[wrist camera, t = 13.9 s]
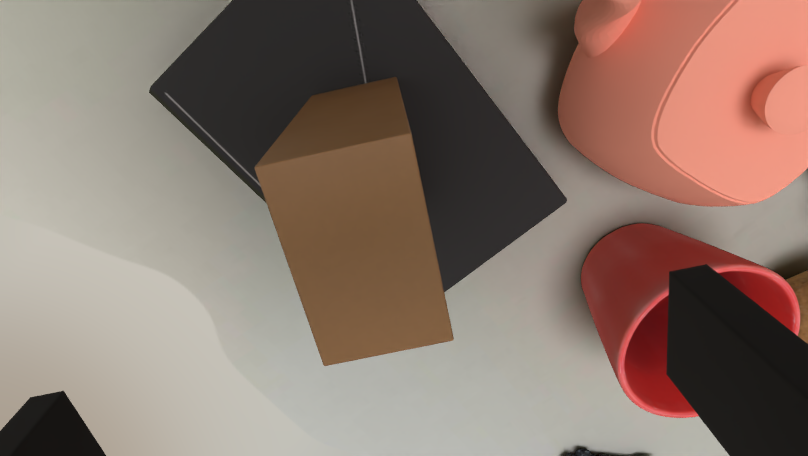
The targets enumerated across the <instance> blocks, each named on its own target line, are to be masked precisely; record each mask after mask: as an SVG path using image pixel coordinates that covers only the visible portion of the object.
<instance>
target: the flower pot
mask: <svg viewBox="0 0 808 456" xmlns="http://www.w3.org/2000/svg"><path fill="white" fill-rule="evenodd" d="M705 264H707V265H708V266H710V267H711V268H712V269H714V270H715V271H716V272H717V273H719V274H720V275H721V276H722V277H724V278H725V279H726V280H727V281H729V282H730V283H731V284H733V285H734V286H735V287H736V288H738V289H739V290H740V291H741V292H743V293H744V294H745V295H746V296H748V297H749V298H750V299H752V300H753V301H754V302H755V303H757V304H758V305H759V306H760V307H762V308H763V309H764V310H765V311H767V312H768V313H769V314H770V315H772V316H773V317H774V318H776V319H777V320H778V321H779V322H781V323H782V324H783V325H784V326H786V327H787V328H788V329H789V330H791V331H792V332H793V333H795V334H796V335H797V336H798V333H799V329H800V308H799V303H798V300H797V297H796V295H795V293H794V291H793V289H792V288H791V286H790V285H789V283H788V282H787V281H786V280H785V279H784V278H782V277H781V276H780V275H778V274H777V273H775V272H774V271H772V270H770V269H767V268H765V267H763V266H761V265H758V264H756V263H754V262H751V261H749V260H746V259H744V258H741V257H739V256H736V255H734V254H731V253H729V252H726V251H724V250H721V249H719V248H716V247H714V246H711V245H709V244H706V243H704V242H701V241H698V240H696V239H693V238H691V237H688V236H685V235H682V234H680V233H677V232H674V231H672V230H669V229H666V228H663V227H661V226H657V225H653V224H645V223H638V224H632V225H628V226H624V227H621V228H619V229H617V230H615V231H614V232H612V233H610V234H608V235H606V236H605V237H603V238H602V239H601V240H600V241H599V242H598V243H597V244H596V245H595V246H594V247H593V248H592V250H591V251H590V252H589V254H588V256H587V258H586V260H585V262H584V265H583V268H582V272H581V284H582V289H583V292H584V294H585V297H586V300H587V303H588V306H589V309H590V312H591V315H592V317H593V320H594V323H595V326H596V328H597V331H598V333H599V336H600V338H601V341H602V343H603V346H604V348H605V351H606V353H607V356H608V358H609V361H610V363H611V365H612V368H613V370H614V372H615V375H616V377H617V379H618V381H619V383H620V385H621V387H622V389H623V391H624V393H625V394H626V395H627V396H628V398H629V399H630V400H631V401H632V402H633V403H635V404H636V405H637V406H639V407H640V408H642V409H644V410H646V411H648V412H650V413H653V414H656V415H660V416H665V417H674V418H686V417H696V416H699V415H698V414H697V413H696V412H695V410H694V409H693V408H692V406H691V405H690V404H689V403H688V401H687V400H686V399H685V397H684V396H683V395H682V394H681V392H680V391H679V390H678V388H677V387H676V386H675V385H674V383H673V382H672V381H671V379H670V378H669V377H668V376H667V374H666V369H667V333H668V297H669V271H674V270H680V269H685V268H690V267H695V266H700V265H705Z"/></svg>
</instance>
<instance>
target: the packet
mask: <svg viewBox="0 0 808 456" xmlns="http://www.w3.org/2000/svg"><path fill="white" fill-rule="evenodd" d="M255 171H256V174H257V177H258V180H259V183H260V186H261V188H262V191H263V194H264V197H265V200H266V203H267V205H268V208H269V211H270V214H271V217H272V220H273V222H274V225H275V228H276V231H277V234H278V237H279V240H280V242H281V245H282V248H283V251H284V254H285V257H286V259H287V262H288V265H289V268H290V271H291V274H292V276H293V279H294V282H295V285H296V288H297V291H298V294H299V296H300V299H301V302H302V305H303V308H304V311H305V313H306V316H307V319H308V322H309V325H310V328H311V331H312V333H313V336H314V339H315V342H316V345H317V348H318V350H319V353H320V356H321V359H322V362H323V365H324V366H328V365H333V364H338V363H343V362H348V361H353V360H358V359H363V358H368V357H373V356H378V355H383V354H388V353H393V352H398V351H403V350H408V349H413V348H418V347H423V346H428V345H433V344H438V343H443V342H448V341H452V340H453V339H454V338H453V333H452V328H451V324H450V319H449V314H448V309H447V304H446V299H445V294H444V290H443V285H442V280H441V275H440V270H439V265H438V260H437V256H436V251H435V246H434V241H433V236H432V231H431V226H430V221H429V217H428V212H427V207H426V202H425V197H424V192H423V187H422V183H421V178H420V173H419V168H418V163H417V158H416V153H415V148H414V144H413V139H412V134H411V130H410V126H409V122H408V119H407V115H406V111H405V107H404V103H403V99H402V96H401V92H400V88H399V84H398V80H397V77H392V78H388V79H383V80H379V81H374V82H370V83H365V84H361V85H357V86H352V87H348V88H343V89H339V90H334V91H330V92H325V93H321V94H316V95H312V96H311V97H310V98H309V100H308V101H307V102H306V103H305V105H304V106H303V107H302V108H301V110H300V111H299V112H298V113H297V115H296V116H295V117H294V118H293V120H292V121H291V122H290V123H289V125H288V126H287V127H286V128H285V130H284V131H283V132H282V133H281V135H280V136H279V137H278V138H277V140H276V141H275V142H274V143H273V145H272V146H271V147H270V148H269V150H268V151H267V152H266V153H265V155H264V156H263V157H262V158H261V160H260V161H259V162H258V163H257V165H256V166H255Z"/></svg>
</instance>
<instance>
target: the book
mask: <svg viewBox="0 0 808 456" xmlns="http://www.w3.org/2000/svg"><path fill="white" fill-rule="evenodd" d="M392 77H397V80H398V84H399V88H400V92H401V96H402V99H403V103H404V107H405V111H406V115H407V119H408V122H409V126H410V130H411V134H412V139H413V144H414V148H415V153H416V158H417V163H418V168H419V173H420V178H421V183H422V187H423V192H424V197H425V202H426V207H427V212H428V217H429V221H430V226H431V231H432V236H433V241H434V246H435V251H436V256H437V260H438V265H439V270H440V275H441V280H442V285H443V290H444V292H445V291H447V290H448V289H449V288H451V287H452V286H453V285H455V284H456V283H458V282H459V281H460V280H462V279H463V278H464V277H466V276H467V275H468V274H470V273H471V272H472V271H474V270H475V269H477V268H478V267H479V266H481V265H482V264H483V263H485V262H486V261H487V260H489V259H490V258H491V257H493V256H494V255H496V254H497V253H498V252H500V251H501V250H502V249H504V248H505V247H506V246H508V245H509V244H510V243H512V242H513V241H515V240H516V239H517V238H519V237H520V236H521V235H523V234H524V233H525V232H527V231H528V230H529V229H531V228H532V227H534V226H535V225H536V224H538V223H539V222H540V221H542V220H543V219H544V218H546V217H547V216H548V215H550V214H551V213H553V212H554V211H555V210H557V209H558V208H559V207H561V206H562V205H563V204H565V203H566V201H567V198H566V197H565V196H564V195H563V193H562V192H561V191H560V189H559V188H558V187H557V185H556V184H555V183H554V181H553V180H552V179H551V177H550V176H549V175H548V173H547V172H546V171H545V169H544V168H543V167H542V165H541V164H540V163H539V162H538V160H537V159H536V158H535V156H534V155H533V154H532V152H531V151H530V150H529V148H528V147H527V146H526V144H525V143H524V142H523V140H522V139H521V138H520V136H519V135H518V134H517V133H516V131H515V130H514V129H513V127H512V126H511V125H510V123H509V122H508V121H507V119H506V118H505V117H504V115H503V114H502V113H501V111H500V110H499V109H498V107H497V106H496V105H495V104H494V102H493V101H492V100H491V98H490V97H489V96H488V94H487V93H486V92H485V90H484V89H483V88H482V86H481V85H480V84H479V82H478V81H477V80H476V78H475V77H474V76H473V75H472V73H471V72H470V71H469V69H468V68H467V67H466V65H465V64H464V63H463V61H462V60H461V59H460V57H459V56H458V55H457V53H456V52H455V51H454V49H453V48H452V47H451V46H450V44H449V43H448V42H447V40H446V39H445V38H444V36H443V35H442V34H441V32H440V31H439V30H438V28H437V27H436V26H435V24H434V23H433V22H432V20H431V19H430V18H429V17H428V15H427V14H426V13H425V11H424V10H423V9H422V7H421V6H420V5H419V3H418V2H417V1H416V0H233V1H232V2H231V3H230V4H229V5H228V6H227V7H226V8H225V9H224V10H223V11H222V12H221V13H220V14H219V15H218V16H217V17H216V18H215V19H214V21H213V22H212V23H211V24H210V25H209V26H208V27H207V28H206V29H205V30H204V31H203V32H202V33H201V34H200V35H199V36H198V37H197V38H196V39H195V41H194V42H193V43H192V44H191V45H190V46H189V47H188V48H187V49H186V50H185V51H184V52H183V53H182V54H181V55H180V56H179V57H178V58H177V59H176V60H175V62H174V63H173V64H172V65H171V66H170V67H169V68H168V69H167V70H166V71H165V72H164V73H163V74H162V75H161V76H160V77H159V78H158V79H157V80H156V81H155V83H154V84H153V85H152V86H151V88H150V90H149V93H150V94H151V95H152V96H154V97H155V98H156V99H157V100H158V101H159V102H160V103H161V104H162V105H163V106H164V107H165V108H166V109H167V110H168V111H169V112H171V113H172V114H173V115H174V116H175V117H176V118H177V119H178V120H179V121H180V122H181V123H182V124H183V125H184V126H185V127H186V128H187V129H189V130H190V131H191V132H192V133H193V134H194V135H195V136H196V137H197V138H198V139H199V140H200V141H201V142H202V143H203V144H204V145H205V146H207V147H208V148H209V149H210V150H211V151H212V152H213V153H214V154H215V155H216V156H217V157H218V158H219V159H220V160H221V161H222V162H223V163H225V164H226V165H227V166H228V167H229V168H230V169H231V170H232V171H233V172H234V173H235V174H236V175H237V176H238V177H239V178H240V179H241V180H243V181H244V182H245V183H246V184H247V185H248V186H249V187H250V188H251V189H252V190H253V191H254V192H255V193H256V194H257V195H258V196H260V197H261V198H262V199H263V200H264V201H265V202H266V200H265V197H264V194H263V191H262V188H261V186H260V183H259V180H258V177H257V174H256V171H255V166H256V165H257V163H258V162H259V161H260V160H261V158H262V157H263V156H264V155H265V153H266V152H267V151H268V150H269V148H270V147H271V146H272V145H273V143H274V142H275V141H276V140H277V138H278V137H279V136H280V135H281V133H282V132H283V131H284V130H285V128H286V127H287V126H288V125H289V123H290V122H291V121H292V120H293V118H294V117H295V116H296V115H297V113H298V112H299V111H300V110H301V108H302V107H303V106H304V105H305V103H306V102H307V101H308V100H309V98H310V97H311V96H312V95H316V94H321V93H325V92H330V91H334V90H339V89H343V88H348V87H352V86H357V85H361V84H365V83H370V82H374V81H379V80H383V79H388V78H392Z"/></svg>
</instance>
